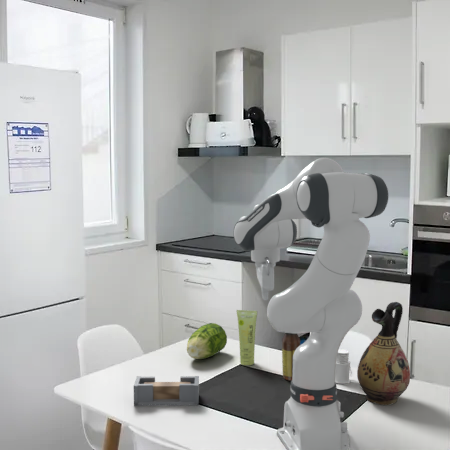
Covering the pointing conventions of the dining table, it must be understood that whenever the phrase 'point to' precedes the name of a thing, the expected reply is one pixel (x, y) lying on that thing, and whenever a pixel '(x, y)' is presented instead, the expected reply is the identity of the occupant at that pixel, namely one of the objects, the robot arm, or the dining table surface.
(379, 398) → the ceramic jug
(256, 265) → the robot arm
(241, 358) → the tube
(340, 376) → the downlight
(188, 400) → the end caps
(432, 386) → the dining table surface
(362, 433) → the dining table surface
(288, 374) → the sauce bottle
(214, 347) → the lettuce
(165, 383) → the slat
